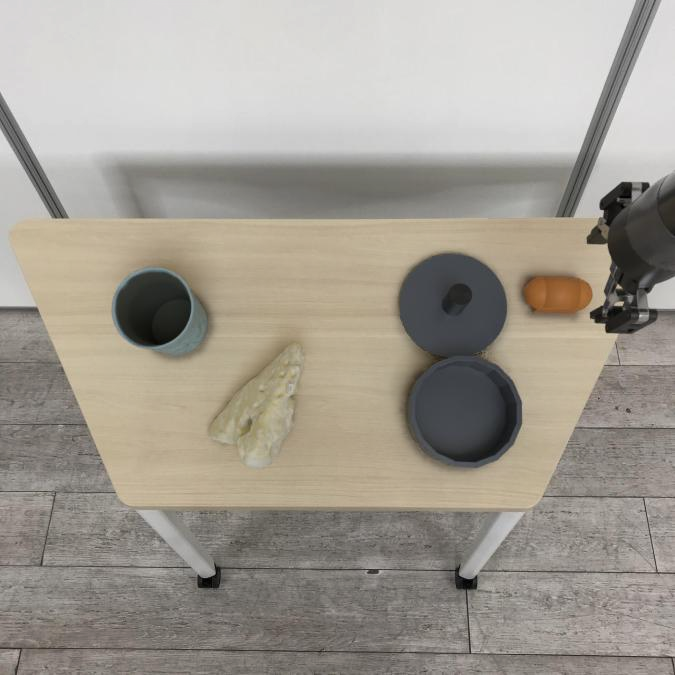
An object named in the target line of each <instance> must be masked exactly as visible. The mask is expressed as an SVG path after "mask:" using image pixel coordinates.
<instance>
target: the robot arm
mask: <svg viewBox="0 0 675 675" xmlns="http://www.w3.org/2000/svg"><path fill="white" fill-rule="evenodd" d="M650 184H651V183H650V182H648V181H621V182H620V183H619V184H617V185H616V186H615V187H613V189H611V190H610V191H608V193H606V194H605V195H604V196H603V197H602V198H600V200H599V205H598V207H599V210H600V211H603V213H602V214H603V215H602V216H599V218H598V220H597V224H596V225H595V226H594V227H593V228H592V229H591V231H590V233H589V234H588V235H587V236H586V238H585V239H586V244H587V245H602V246H603V245H607V251H608V253H609V256H610V259H611V263H610V266H609V273H610V274H609V275H608V279H607V280H606V283H605V286H604V289H603V294H604V296H605V299H604V302H603V305H599V306H598V307H596V308H595V309H592V310H591V311H589V319H590V320H594V321H593V322H594V323H595V324H597V325H598V324H600V325H601V324H602V325H604V331H605V334H618V335H633V334H635V333H637V332H638V331H640V330H642V329H644V328H646V327H648V326H649V325H651V324H653V323H656V322H657V320H658V317H659V312H658V310H657V308H650V307H649V302H648V295H649V294H650V293H651V292H652V290H653V289H654V287H655V286H656V285H658V284H661V283H664V282H666V281H669V280H671V279H673V278H675V169H674V170H673V171H672V172H670V173H669V174H667V175H664V176H663V177H662V178H660V179H658V180H657V181H656V182H654V183H653V184H652V185H650ZM618 286H619V287H620V288H619V287H618ZM619 302H621V303H622V302H623V303H622V305H615V304H616V303H619Z"/></svg>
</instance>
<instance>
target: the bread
mask: <svg viewBox="0 0 675 675" xmlns="http://www.w3.org/2000/svg"><path fill="white" fill-rule="evenodd" d="M593 295H594V293H593V289H592V286H591V285H590V284H589V283H588V282H587V281H586V280H584V279H582V278H580V277H559V276H557V277H556V276H538V277H535V278H533V279H531V280H530V281H529V282H528V283H527V284H526V285H525V288H524V291H523V297H524V301H525V302H526V303H527V305H528V306H529V307H530V308H532V313H533V314H535V313H537V314H539V313H540V314H562V315H563V314H564V315H565V314H566V315H574V314H576V313H578V312H579V311H582V310H584V309H586V308H587V307H588V306H589V305H590V304H591V302H592V300H593V298H594V297H593Z"/></svg>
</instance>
